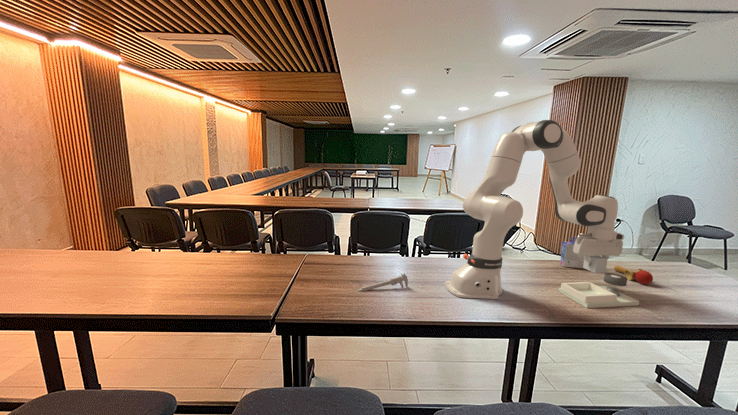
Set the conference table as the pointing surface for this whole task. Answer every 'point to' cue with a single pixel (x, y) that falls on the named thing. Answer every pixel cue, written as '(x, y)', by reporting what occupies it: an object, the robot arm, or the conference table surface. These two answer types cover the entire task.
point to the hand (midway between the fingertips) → (594, 265)
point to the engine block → (597, 264)
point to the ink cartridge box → (570, 255)
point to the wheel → (615, 279)
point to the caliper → (388, 283)
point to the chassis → (596, 295)
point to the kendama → (636, 275)
